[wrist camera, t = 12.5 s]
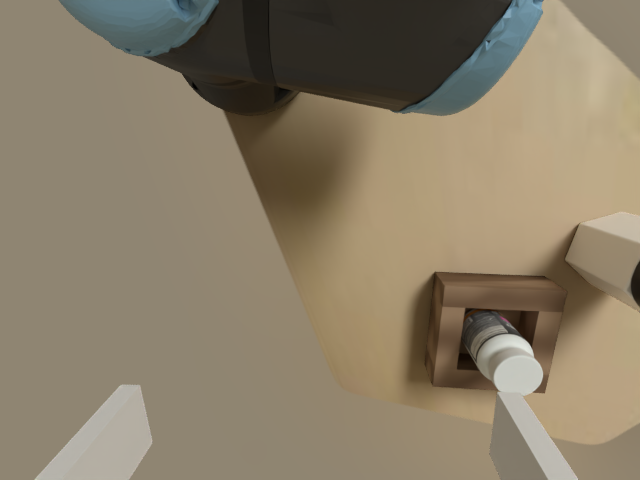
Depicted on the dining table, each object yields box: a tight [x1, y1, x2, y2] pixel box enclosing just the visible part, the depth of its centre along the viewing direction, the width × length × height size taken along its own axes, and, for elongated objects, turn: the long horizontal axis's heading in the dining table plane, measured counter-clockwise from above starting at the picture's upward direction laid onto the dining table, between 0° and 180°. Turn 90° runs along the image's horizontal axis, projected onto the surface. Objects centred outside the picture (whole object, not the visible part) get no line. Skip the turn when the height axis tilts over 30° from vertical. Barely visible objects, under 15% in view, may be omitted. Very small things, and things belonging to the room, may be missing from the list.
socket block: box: [425, 272, 567, 393], centre depth 42 cm, size 13×13×4 cm
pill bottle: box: [461, 308, 543, 396], centre depth 38 cm, size 6×6×10 cm
